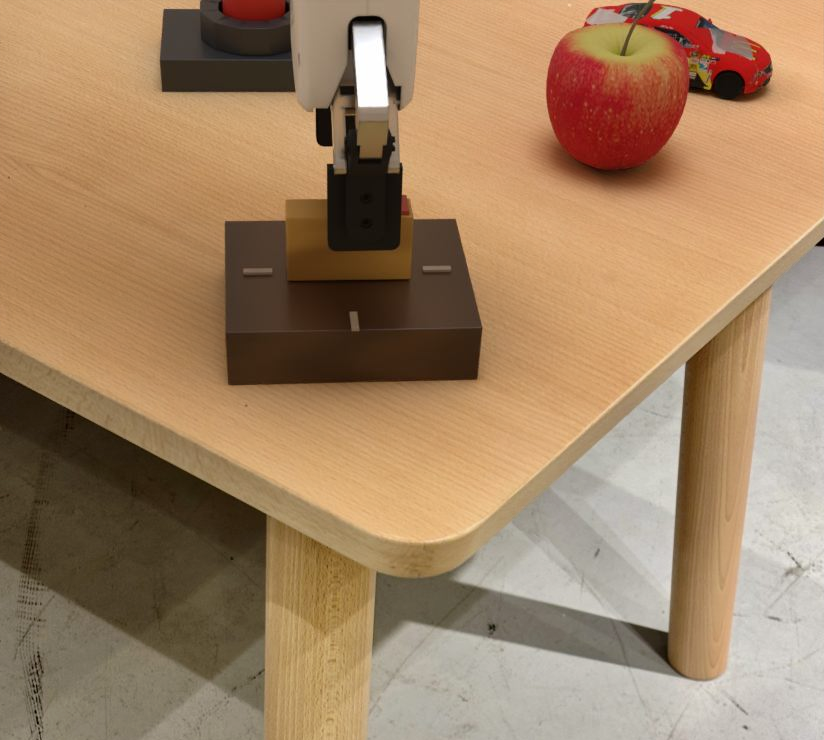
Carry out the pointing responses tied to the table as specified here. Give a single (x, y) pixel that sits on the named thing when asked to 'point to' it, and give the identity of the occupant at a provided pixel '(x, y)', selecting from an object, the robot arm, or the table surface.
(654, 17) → the race car
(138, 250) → the table surface
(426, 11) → the table surface
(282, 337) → the plate
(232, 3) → the release button
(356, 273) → the lock
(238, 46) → the button box
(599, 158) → the apple
